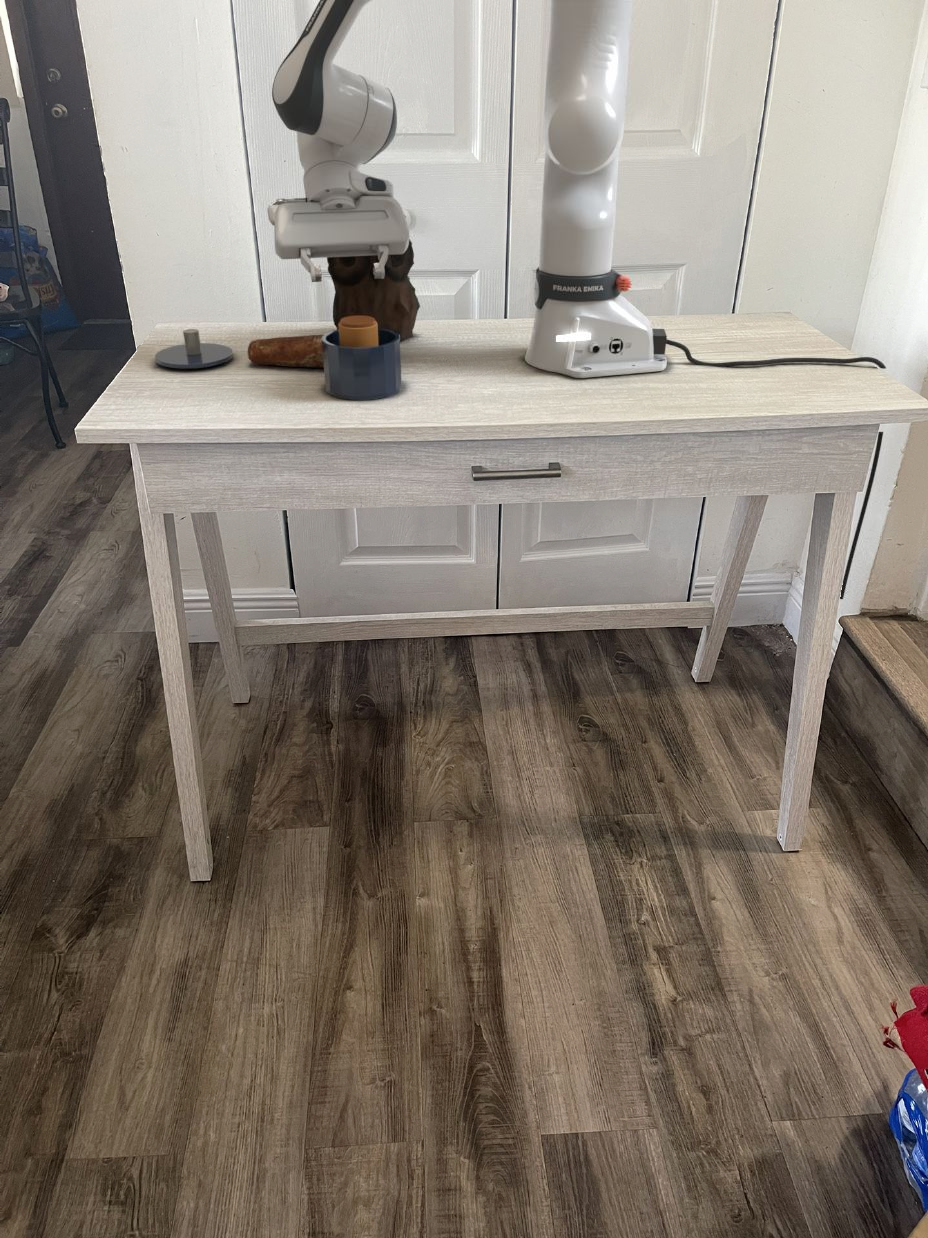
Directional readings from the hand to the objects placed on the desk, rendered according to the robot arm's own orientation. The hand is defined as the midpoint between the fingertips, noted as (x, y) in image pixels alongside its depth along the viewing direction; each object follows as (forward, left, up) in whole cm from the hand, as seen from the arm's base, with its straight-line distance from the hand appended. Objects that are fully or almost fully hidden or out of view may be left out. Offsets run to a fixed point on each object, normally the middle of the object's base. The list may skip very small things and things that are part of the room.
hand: (348, 278), depth 141 cm
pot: (-2, +9, -14) cm, 17 cm away
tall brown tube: (-1, +9, -13) cm, 16 cm away
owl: (-3, -20, -14) cm, 24 cm away
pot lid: (+26, -7, -13) cm, 30 cm away
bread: (+7, -2, -14) cm, 16 cm away
